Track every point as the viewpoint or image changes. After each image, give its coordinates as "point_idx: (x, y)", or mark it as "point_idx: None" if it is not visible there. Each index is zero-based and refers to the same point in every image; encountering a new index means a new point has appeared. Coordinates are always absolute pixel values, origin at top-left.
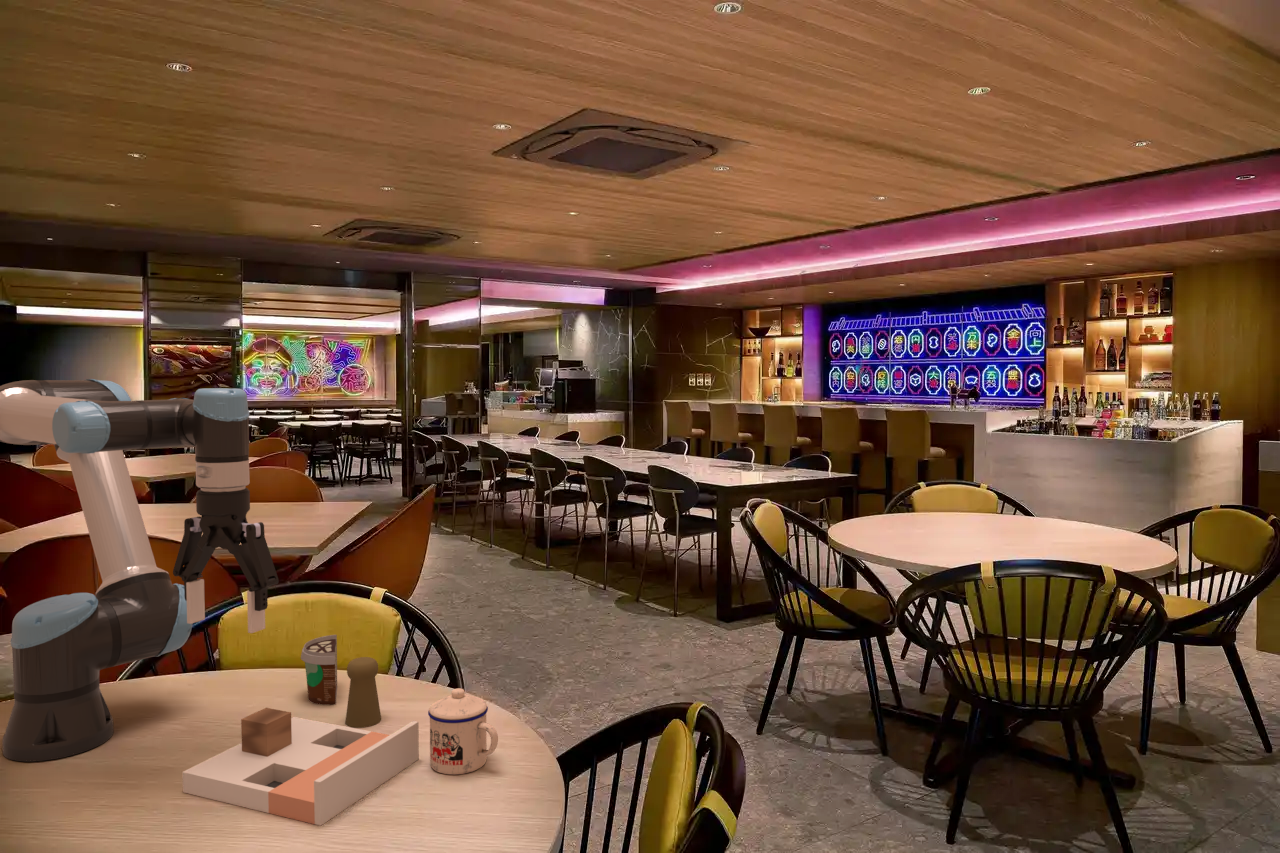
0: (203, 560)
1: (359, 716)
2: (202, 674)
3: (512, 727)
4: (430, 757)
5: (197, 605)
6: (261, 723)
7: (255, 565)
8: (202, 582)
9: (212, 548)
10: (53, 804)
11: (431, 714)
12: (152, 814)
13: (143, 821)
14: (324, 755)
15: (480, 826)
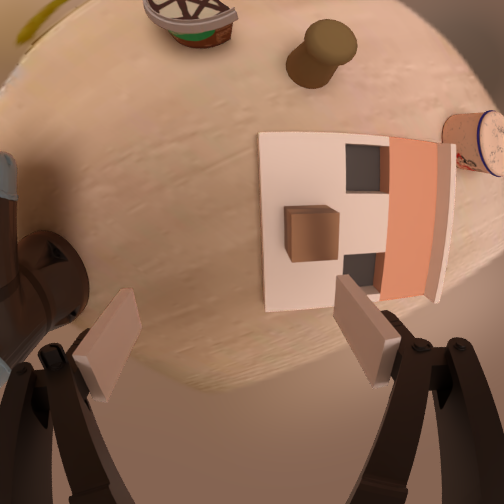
0: (101, 447)
1: (324, 82)
2: (12, 82)
3: (454, 54)
4: None
5: (123, 331)
6: (328, 259)
7: (442, 441)
8: (93, 355)
9: (122, 497)
10: (177, 357)
11: (489, 169)
12: (274, 337)
13: (278, 346)
14: (382, 215)
15: (500, 234)
